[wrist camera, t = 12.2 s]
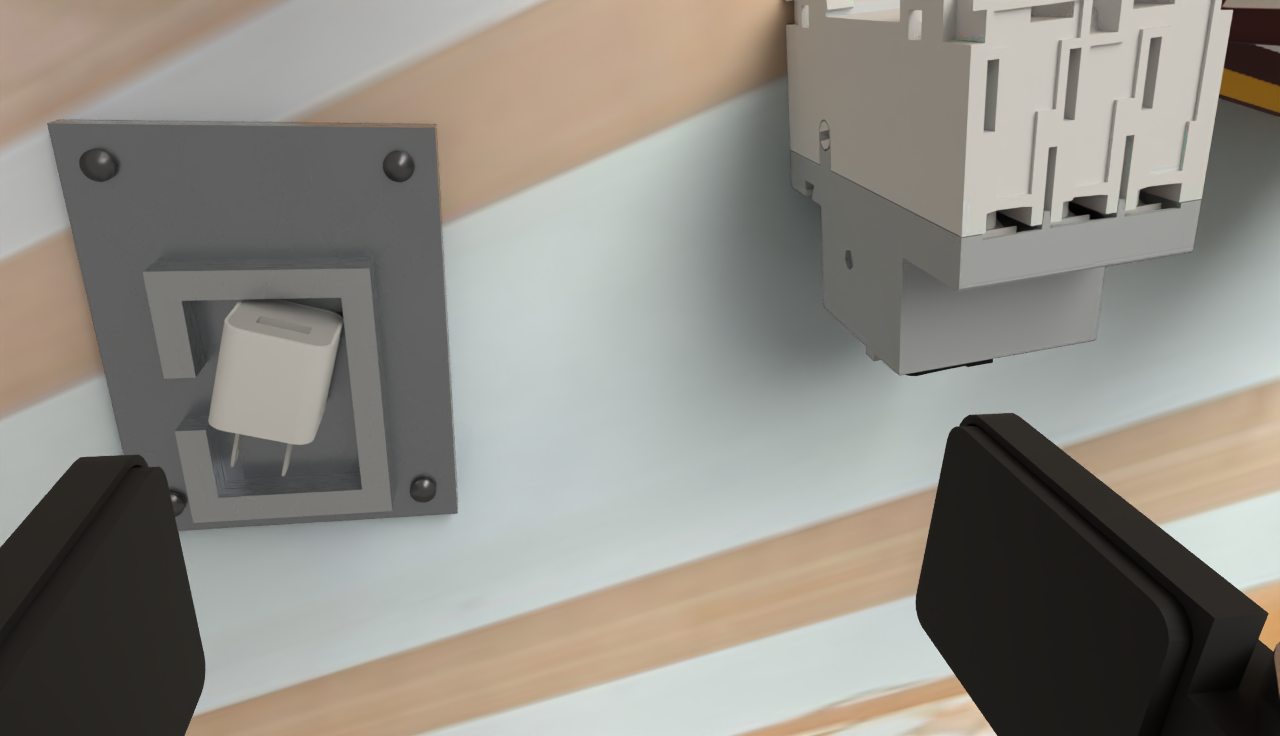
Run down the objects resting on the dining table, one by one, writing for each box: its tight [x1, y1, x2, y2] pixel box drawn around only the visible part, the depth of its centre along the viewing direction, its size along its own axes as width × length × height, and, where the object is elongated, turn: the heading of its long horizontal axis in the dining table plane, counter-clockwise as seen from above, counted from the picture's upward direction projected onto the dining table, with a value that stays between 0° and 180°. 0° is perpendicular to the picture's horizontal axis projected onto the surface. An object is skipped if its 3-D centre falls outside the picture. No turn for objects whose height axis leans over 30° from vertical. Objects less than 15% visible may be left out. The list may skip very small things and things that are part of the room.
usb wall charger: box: [208, 299, 344, 476], centre depth 35 cm, size 4×7×4 cm, turn 162°
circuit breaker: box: [785, 0, 1233, 376], centre depth 32 cm, size 8×14×15 cm, turn 6°
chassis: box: [47, 120, 458, 531], centre depth 36 cm, size 18×14×2 cm
